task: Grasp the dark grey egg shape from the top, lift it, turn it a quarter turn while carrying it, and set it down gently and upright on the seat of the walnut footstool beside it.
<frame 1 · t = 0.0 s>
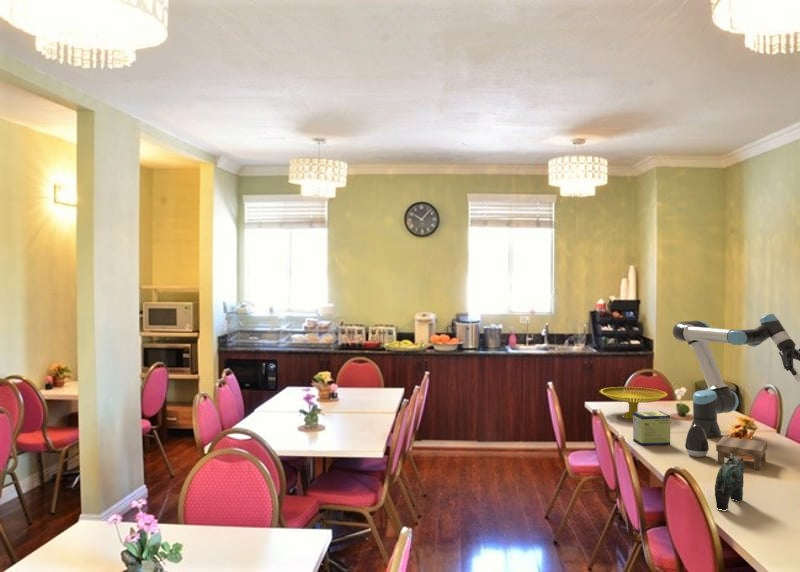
walnut footstool: (741, 462, 275), on the table
cake stand: (633, 416, 370), on the table
dark grey egg shape: (697, 456, 286), on the table
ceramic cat: (731, 505, 224), on the table
protein box: (651, 443, 310), on the table
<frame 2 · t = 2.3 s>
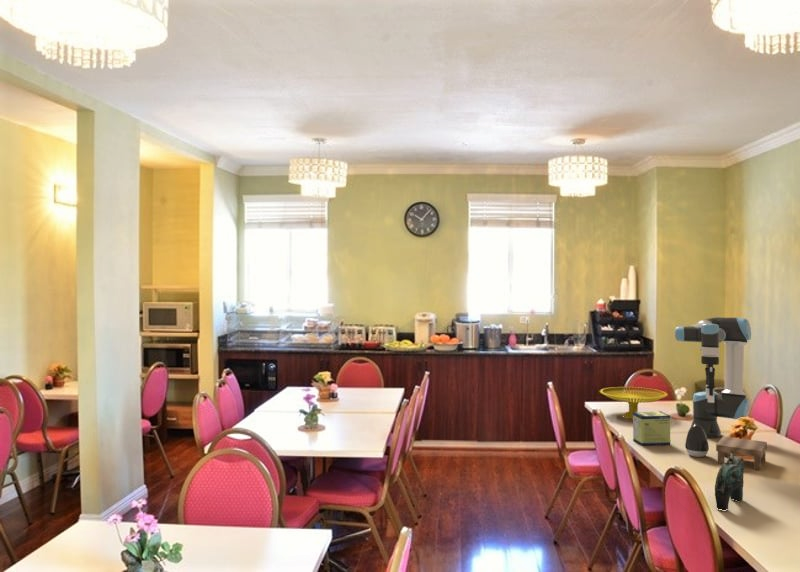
hand: (710, 400, 283), 27 cm above the table, tool pointing down, fingers open, 13 cm apart
nothing on the table moved.
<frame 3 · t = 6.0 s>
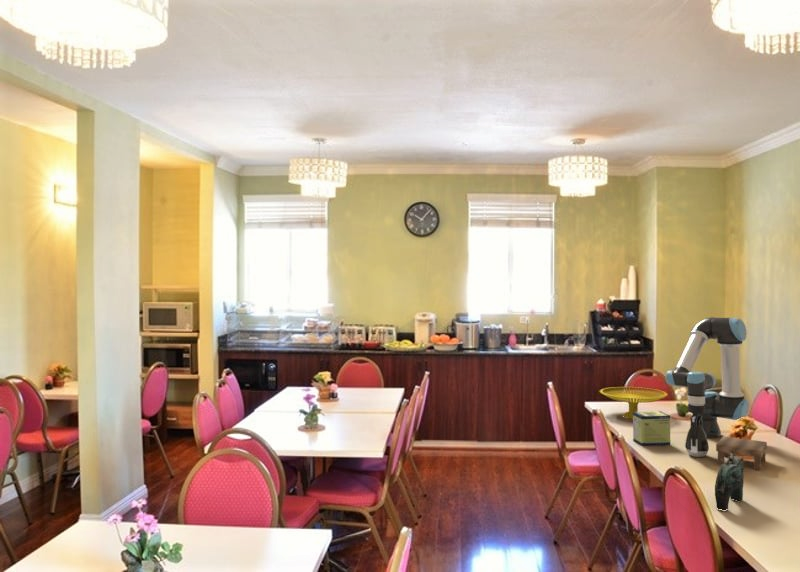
hand: (696, 449, 286), 3 cm above the table, tool pointing down, fingers closed on dark grey egg shape, 10 cm apart
dark grey egg shape: (697, 456, 286), on the table, touching gripper
everything else where it was.
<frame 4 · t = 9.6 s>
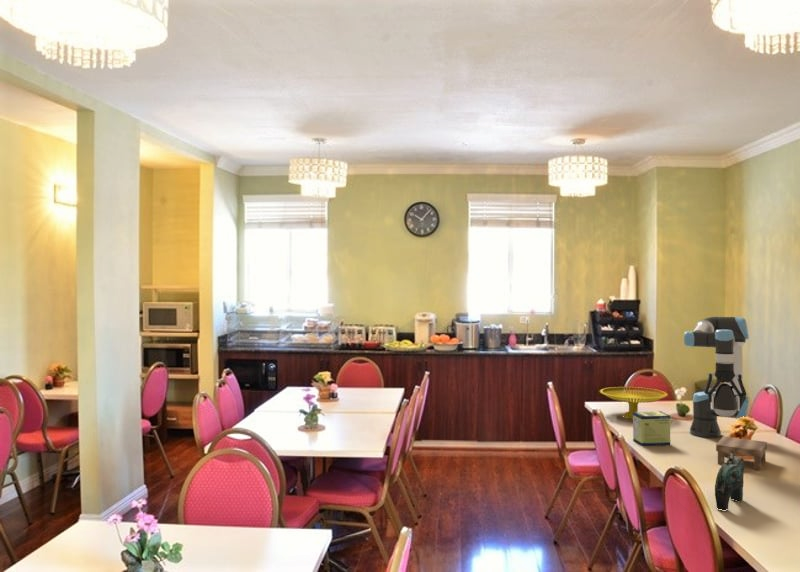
hand: (725, 409, 278), 24 cm above the table, tool pointing down, fingers closed on dark grey egg shape, 10 cm apart
dark grey egg shape: (725, 415, 278), point 21 cm above the table, touching gripper
everything else where it was.
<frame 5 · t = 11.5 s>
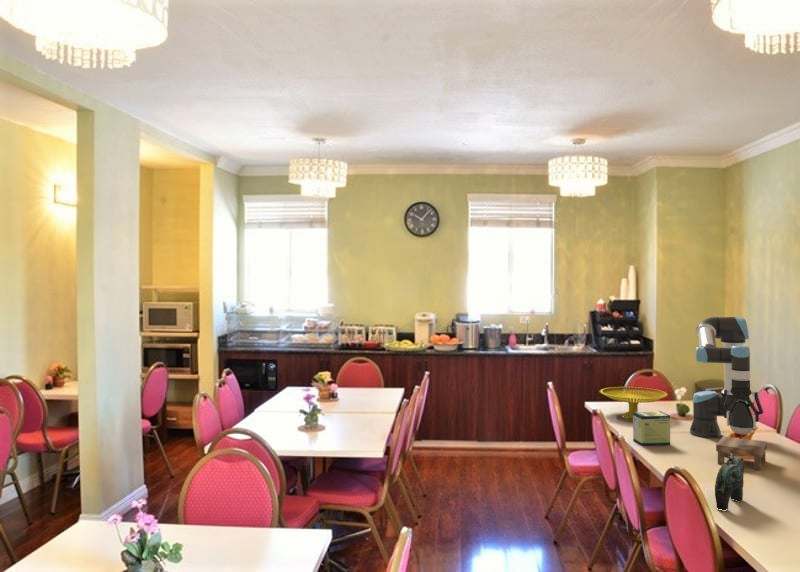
hand: (741, 427, 274), 17 cm above the table, tool pointing down, fingers closed on dark grey egg shape, 10 cm apart
dark grey egg shape: (741, 433, 274), point 14 cm above the table, touching gripper
everything else where it was.
when the fingers open (13 cm above the table, at t = 13.1 s): dark grey egg shape drops 1 cm, resting on walnut footstool.
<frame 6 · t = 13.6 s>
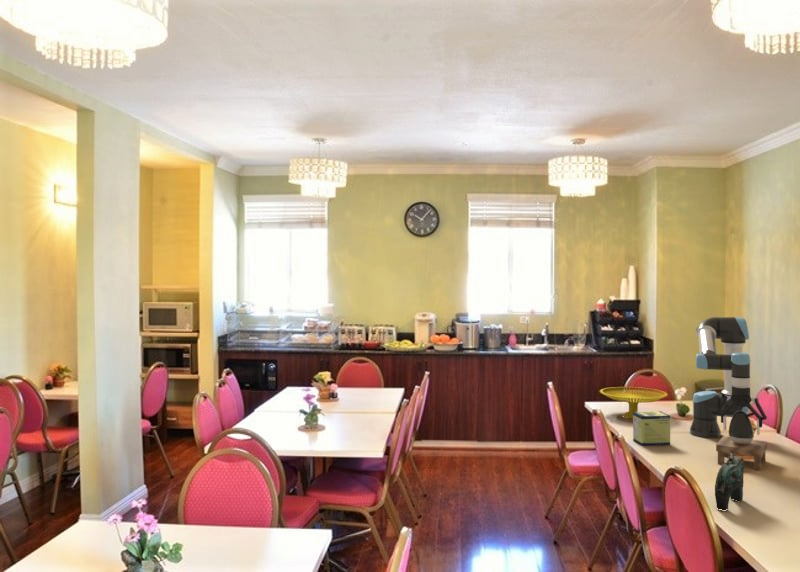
hand: (741, 432, 274), 14 cm above the table, tool pointing down, fingers open, 13 cm apart
dark grey egg shape: (741, 443, 275), point 9 cm above the table, touching walnut footstool
everything else where it was.
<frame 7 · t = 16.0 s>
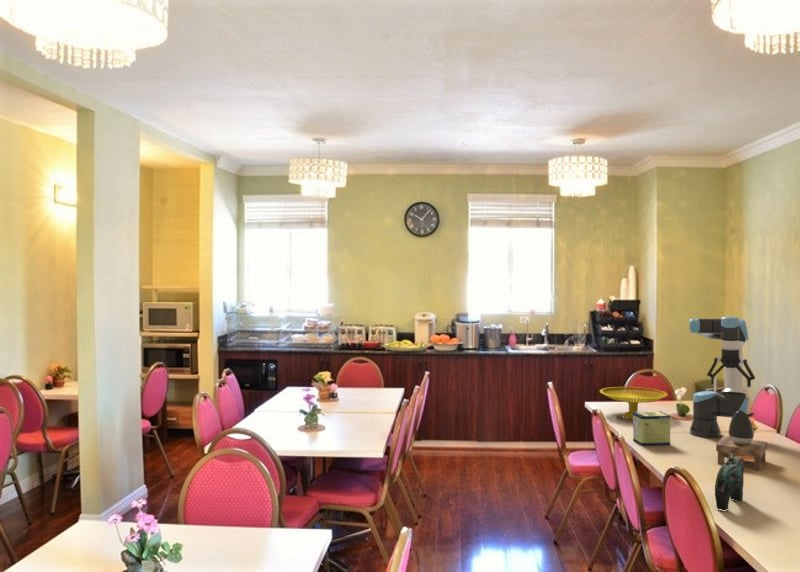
hand: (730, 392, 287), 30 cm above the table, tool pointing down, fingers open, 13 cm apart
nothing on the table moved.
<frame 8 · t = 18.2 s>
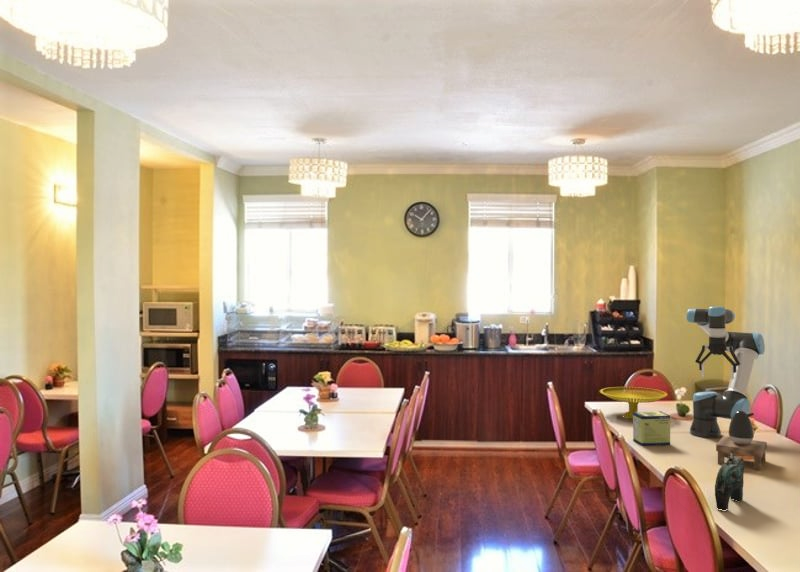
hand: (717, 377, 303), 35 cm above the table, tool pointing down, fingers open, 13 cm apart
nothing on the table moved.
at the end: dark grey egg shape inside the target area on the walnut footstool (0.0 cm from its centre), point 8.8 cm above the walnut footstool's base; dark grey egg shape tilted 0°; the gripper is holding nothing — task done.
